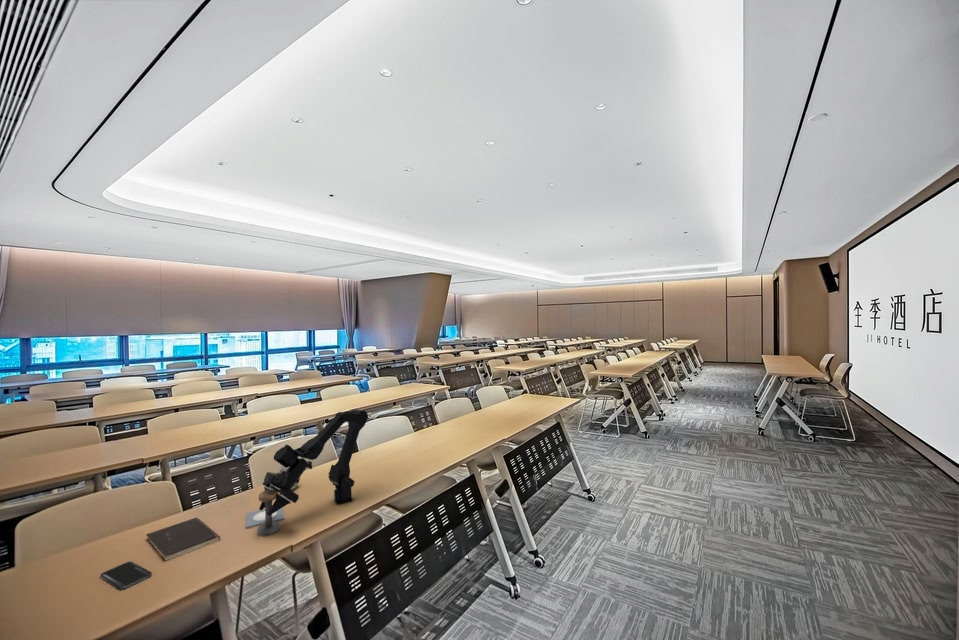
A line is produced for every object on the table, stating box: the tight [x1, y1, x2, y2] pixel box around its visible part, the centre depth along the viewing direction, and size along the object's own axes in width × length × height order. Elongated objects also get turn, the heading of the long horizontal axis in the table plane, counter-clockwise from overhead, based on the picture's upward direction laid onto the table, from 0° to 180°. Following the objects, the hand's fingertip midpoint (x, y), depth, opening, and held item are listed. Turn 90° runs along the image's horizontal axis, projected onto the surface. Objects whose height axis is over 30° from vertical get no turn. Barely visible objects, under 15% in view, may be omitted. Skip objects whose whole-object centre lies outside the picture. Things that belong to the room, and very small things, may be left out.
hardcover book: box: [146, 517, 221, 561], centre depth 143 cm, size 16×23×2 cm
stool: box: [257, 490, 281, 537], centre depth 147 cm, size 7×7×14 cm
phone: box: [99, 560, 153, 591], centre depth 122 cm, size 8×1×15 cm
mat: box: [245, 507, 285, 529], centre depth 158 cm, size 13×13×1 cm
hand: (264, 512), depth 146 cm, fingers closed on stool, 6 cm apart
